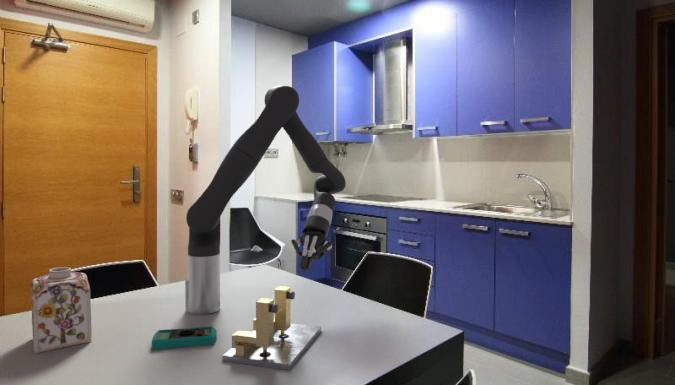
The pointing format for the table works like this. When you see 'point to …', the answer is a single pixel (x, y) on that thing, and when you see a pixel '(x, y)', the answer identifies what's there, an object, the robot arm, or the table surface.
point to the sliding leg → (282, 309)
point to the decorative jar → (60, 310)
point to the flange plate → (279, 348)
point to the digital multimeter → (184, 337)
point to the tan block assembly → (257, 330)
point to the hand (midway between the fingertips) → (304, 269)
